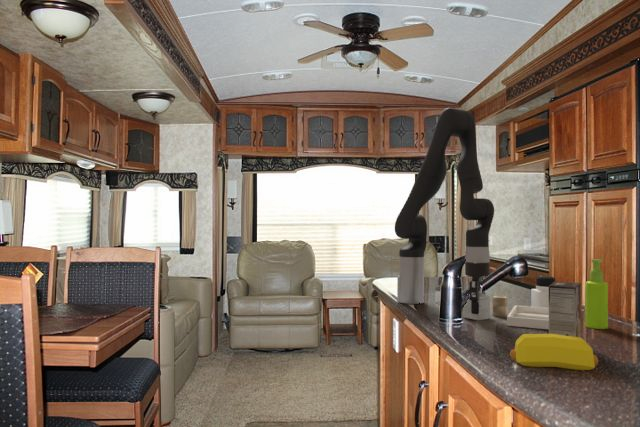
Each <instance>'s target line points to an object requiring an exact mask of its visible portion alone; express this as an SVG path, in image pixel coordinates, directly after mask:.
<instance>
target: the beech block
mask: <svg viewBox="0 0 640 427" xmlns="http://www.w3.org/2000/svg"><path fill="white" fill-rule="evenodd" d="M492 316H494V317H504V318H505V317H506V318H507V316H508V296H505V295H494V296H492Z"/></svg>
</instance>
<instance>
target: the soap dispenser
mask: <svg viewBox="0 0 640 427" xmlns="http://www.w3.org/2000/svg"><path fill="white" fill-rule="evenodd" d="M602 262H604V259H602V258H593V259H592V260H591V263H593V264H592V265H593V268H592V269H590V271H589V280H587V281H585V283H584V285H585V286H584V287H585V288H584V289H585V292H584V295H585V296H584V298H585V300H584V301H585V302H584V304H585V305H584V306H585V312H584V314H585V316H584V317H585V318H584V319H585V320H584V325H585V327H586V328H589V329H595V330H605V329H606V330H607V329H609V283H608V282H605V281H604V271H603V270H602V269H601V263H602Z"/></svg>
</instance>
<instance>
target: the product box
mask: <svg viewBox="0 0 640 427" xmlns="http://www.w3.org/2000/svg"><path fill="white" fill-rule="evenodd" d="M473 297H476V296H473ZM462 318H464V319H471V320H474V321H483V320H489V319H491V296H490V295H488V294H485V295H481V296H480V297H479V313H478V314H472V313H471V300H469V299H468V300H467V303H466V304H465V305H464V307H463V306H462Z"/></svg>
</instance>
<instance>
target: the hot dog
mask: <svg viewBox="0 0 640 427" xmlns="http://www.w3.org/2000/svg"><path fill="white" fill-rule="evenodd" d="M514 345H515V346H514V348H512V349H511V351H510V353H509V355H510V358H511V360H513V361H514V362H516V363H518V364H519V365H521V366H524V367H533V368H534V367H537V368H541V367H542V368H546V367H547V368H549V367H550V368H551V367H552V368H553V367H554V368H555V367H556V368H560V369H568V370H577V371H584V370H588V371H591V370H593V369H595V368H596V367H597V366H598V364H599V359H598V356H597V355H596V354H594V349H593V348H592V347H591V345H589V343H588V342H586V340H585V339H583V337H573V336H565V335H558V334H549V333H525V334H524V333H522V334H521V335H520V336H519V337H518V338H517V339H516V341H515V344H514Z"/></svg>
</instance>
